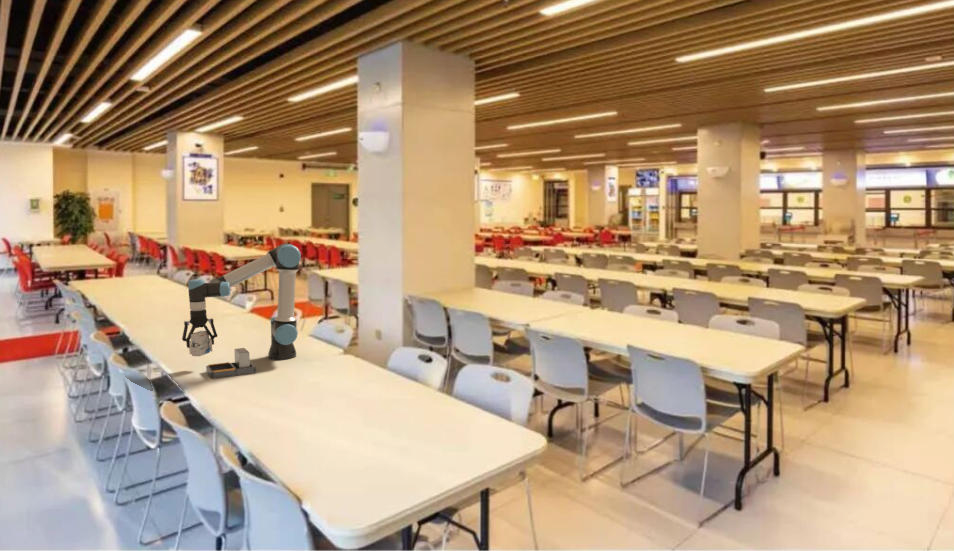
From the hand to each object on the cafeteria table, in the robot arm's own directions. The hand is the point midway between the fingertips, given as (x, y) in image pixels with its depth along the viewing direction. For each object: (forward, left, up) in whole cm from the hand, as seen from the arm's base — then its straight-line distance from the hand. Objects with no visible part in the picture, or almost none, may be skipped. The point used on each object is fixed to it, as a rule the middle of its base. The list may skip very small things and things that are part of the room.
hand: (201, 352), depth 310 cm
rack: (-12, +13, -9) cm, 20 cm away
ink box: (0, 0, -1) cm, 1 cm away
